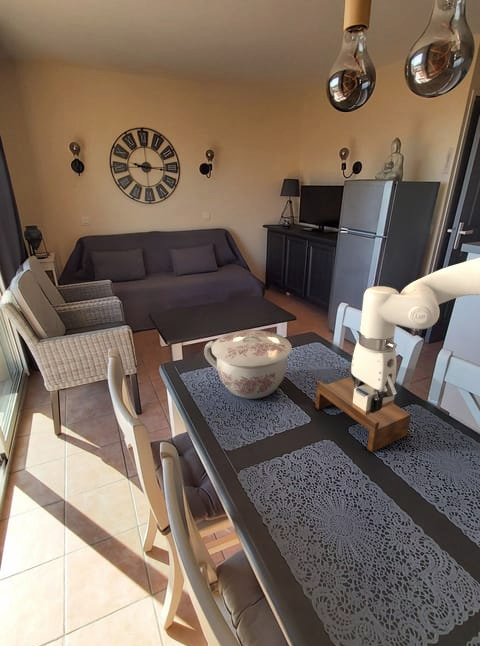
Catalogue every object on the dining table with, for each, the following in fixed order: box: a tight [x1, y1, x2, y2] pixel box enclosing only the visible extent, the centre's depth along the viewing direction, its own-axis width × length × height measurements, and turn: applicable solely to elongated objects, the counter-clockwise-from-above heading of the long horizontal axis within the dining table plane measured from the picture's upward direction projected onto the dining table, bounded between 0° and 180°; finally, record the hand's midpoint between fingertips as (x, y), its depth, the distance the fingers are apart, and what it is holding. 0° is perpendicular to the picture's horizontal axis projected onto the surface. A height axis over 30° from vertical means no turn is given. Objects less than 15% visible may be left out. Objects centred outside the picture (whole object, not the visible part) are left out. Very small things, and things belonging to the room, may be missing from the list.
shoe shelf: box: [315, 376, 412, 453], centre depth 109 cm, size 14×24×10 cm, turn 28°
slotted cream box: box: [352, 383, 396, 416], centre depth 91 cm, size 10×4×6 cm, turn 119°
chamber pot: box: [203, 329, 293, 400], centre depth 126 cm, size 28×28×21 cm
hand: (367, 404), depth 91 cm, fingers closed on slotted cream box, 4 cm apart
